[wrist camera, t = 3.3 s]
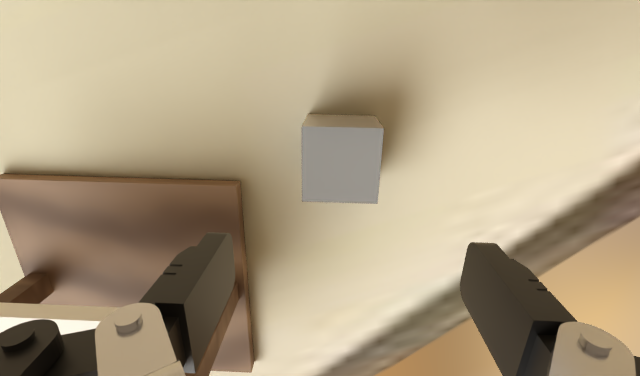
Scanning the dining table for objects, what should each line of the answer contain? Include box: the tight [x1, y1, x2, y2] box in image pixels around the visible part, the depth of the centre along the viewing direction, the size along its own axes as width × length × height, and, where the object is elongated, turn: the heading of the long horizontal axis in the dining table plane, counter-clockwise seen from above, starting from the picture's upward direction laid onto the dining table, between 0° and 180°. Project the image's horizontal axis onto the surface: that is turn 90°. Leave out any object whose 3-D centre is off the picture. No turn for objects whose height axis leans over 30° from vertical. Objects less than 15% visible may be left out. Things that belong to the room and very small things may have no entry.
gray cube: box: [302, 114, 384, 204], centre depth 23 cm, size 5×5×5 cm
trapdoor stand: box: [0, 174, 254, 376], centre depth 25 cm, size 20×20×13 cm
